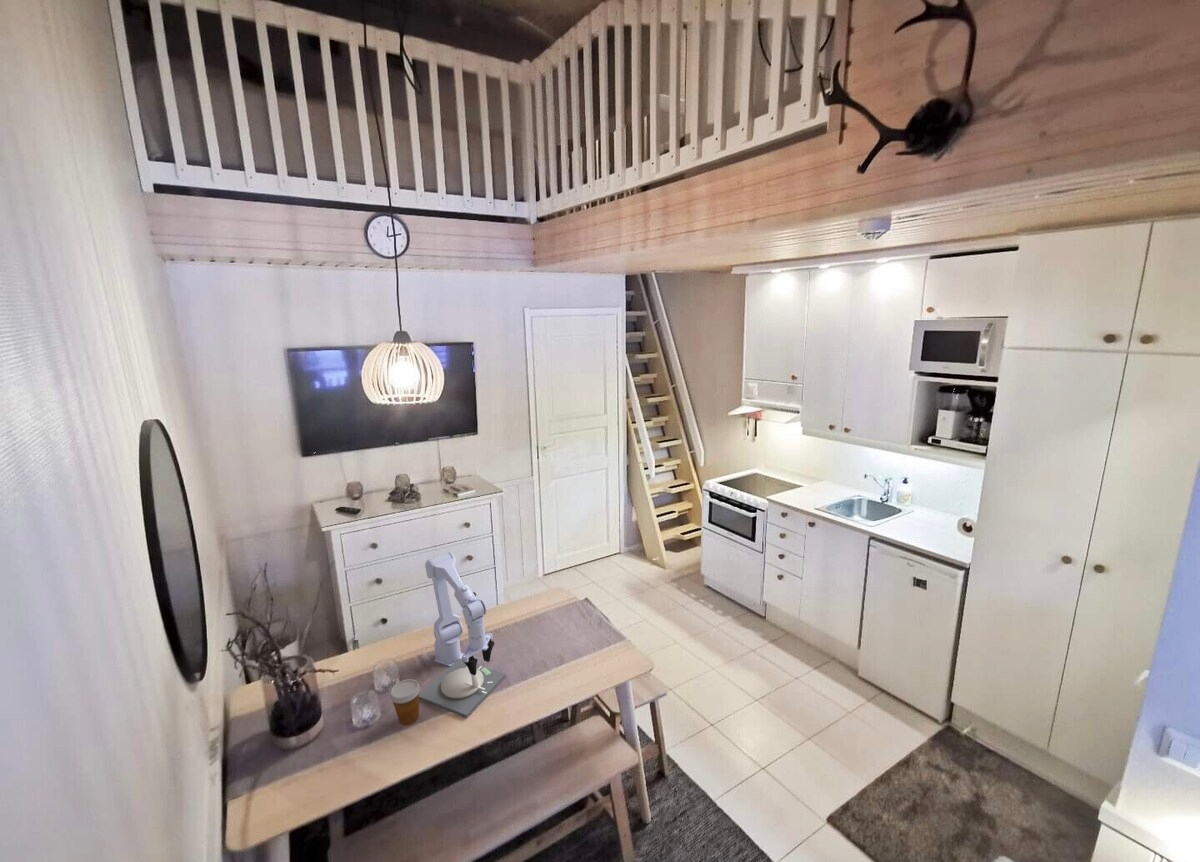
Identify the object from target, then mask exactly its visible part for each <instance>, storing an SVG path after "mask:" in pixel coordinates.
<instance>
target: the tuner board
mask: <svg viewBox="0 0 1200 862" xmlns="http://www.w3.org/2000/svg"><path fill="white" fill-rule="evenodd" d="M461 668H468V667H467V666H466V664H465V663H464V662H463V661H462V659H460V658H459V659H458V660H457V661H456V662H455V663H454V664H453V665H452V666H448V668H446V670H445V671H443V673H441V674H440V675H439V676H437V678H436V679H434V680H433V682H431V683H430V684H428V686H427V687H426V688H424V689H423V690H422V691H421V692H419V701H422V702H424V703H427V704H429V705H431V706H434V707H436V708H439V709H440V710H444V711H446V712H449V713H451V714H453V715H456V714H457V715H456V716H458V717H461V716H462V717H461V718H464V719H467V720H468V718H469V717H470V716H471V715H472V713H474V712H475V711H476V710H477V708H478V707H480V705H481V704H482V703H484V701H485V700H486V699H487V698H488V697H489V696H490V695H491V694H492V693H493V692H494V691H495V689H497V688H498V687H499V685H500V684H501V683H503V681H505V679H506V678H507V674H506V673H504V672H501V671H498V670H495V669H493V668H489V667H486V666H483V665H480V664H478V663H477V665H476V669H478V670H479V671H481V672H482V674H483V678H484V682H483V685H482V688H485V690H483V689H479V690H478V691H477V692H476V693H474V694H473V695H471V696H468V697H466V698H461V699H452V698H448V697H446V696H444V695H443V693H442V691H441V682H442V680H443V679H444V678H445V677H446V676H447V675H448V674H449V673H451V672H453V671H455V670H457V669H461Z"/></svg>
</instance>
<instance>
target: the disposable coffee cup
mask: <svg viewBox="0 0 1200 862" xmlns="http://www.w3.org/2000/svg"><path fill="white" fill-rule="evenodd" d="M420 691H421V686H420V684H419V683H418V681H417V680H415V679H412V678H411V679H409V678H408V679H403V680H401V681H399V682H397V683H396V684H394V685H393V687H392V688H391V690H390V694H389V698H390V700H391V701H392V703H393V706H394V710H395V712H396V715H397V719H398V722H399V724H400V725H401V726H404V727H405V726H406V727H407V726H411V725H413V724H415V723H416V722H417V721H418V720H419V717H420V700H419V694H420Z"/></svg>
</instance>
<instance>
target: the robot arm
mask: <svg viewBox="0 0 1200 862" xmlns="http://www.w3.org/2000/svg"><path fill="white" fill-rule="evenodd" d="M424 565H425V567H424V568H425V573H426V576H427V579H431V580H432V586H433V590H434V594H435V601H436V605H437V611H438V618H437V619H436V620H435V621H434V623H433V637H434V639H435V640H434V643H433V644H434V645H433V646H434V653H435V654H434V655H435V659H434V662H436V663H439V664H442V665H445V666H447V667H450V666H452V665H453V664H454V663H455V662H456V661H457V660H458V659H459V658H460V659H462V661H463V662H464V663H465V664H466V666H467V667H468V669H469V671H470V674H472V675H476V672H477V670H476V665H477V664H478V660H479V659H477V658H475V657H474V656H475V655H476V654H479V653H480V652H481V653H482V658H483V661H485V662H487V663H489V662H490V661H491V654H492V652H493V649H494V646H495V641H494V640H493V639H494V636H493V635H494V633H491V632H487V633H486V630H485V619H484V615H486V614H487V609H486V605H485V603H484V601H483V599H481V598H479V597H478V596H477V597H476V595H475V594H474V592H473V591H472V589H471V587H470V586H469V585H468V584H464V582H463V581H462V578H461V577H460V575H459V573H458V571H457V559H456V557H455V555H454V553H452V552H447V553H444V554H442V555H440V556H436V557H433V558H430V559H427V560H426V562H425V564H424ZM448 584H449V585H450V586H451V587H452V589H453V590H454V594H453V597H455V599H456V601H457V602H458V604H459V605H460V608H461V609H462V611H461V612H462V615H463V619H464V621H465V624H466V625H467V626H466V627H467V628H466V629H467V636H468V643H469V644H468V646H467V649H466V650H465V652H464V653H463V652H462V651H461V644H460V643H461V642H460V639H461V638H462V637H461V635H463V634H464V633H463V632H464V627H463V623H462V620H461V618H460V616H459V615H458V614H455V613H453V610H452V604H451V598H450V594H449V589H448Z"/></svg>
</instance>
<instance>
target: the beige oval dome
mask: <svg viewBox="0 0 1200 862" xmlns="http://www.w3.org/2000/svg"><path fill="white" fill-rule="evenodd" d="M476 670H477V672H476V675H472V674H470V671H469V669H468V668H461V669H457V670H455V671H453V672H451V673H449V674H448V675H447V676H446V677H445V678H444V679H443V680H442V682H441V691H442V693H443V695H444V696H446V697H448V698H452V699H461V698H466V697H468V696H471V695H473V694H474V693H476V692H477V691H478V690H479V689H483V690H485V688H482V685H483V682H484V678H483V674H482V672H481V671H479V670H478V669H476Z"/></svg>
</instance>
